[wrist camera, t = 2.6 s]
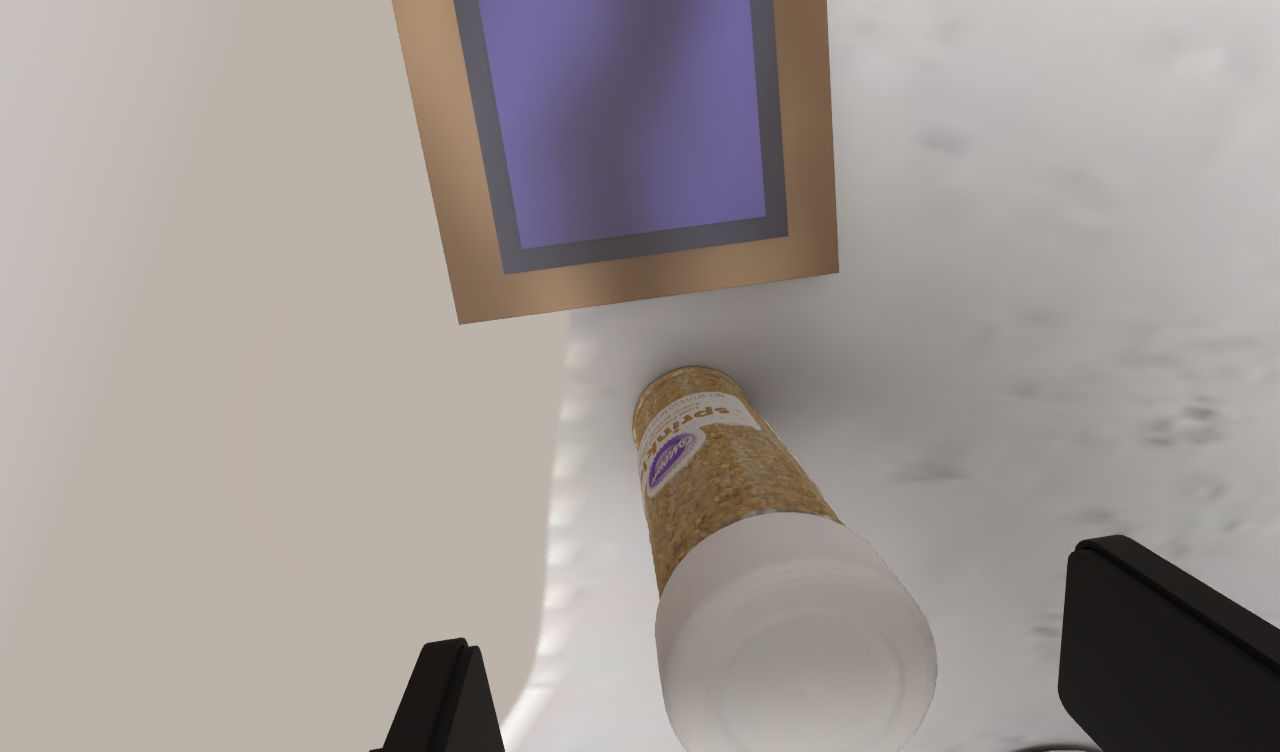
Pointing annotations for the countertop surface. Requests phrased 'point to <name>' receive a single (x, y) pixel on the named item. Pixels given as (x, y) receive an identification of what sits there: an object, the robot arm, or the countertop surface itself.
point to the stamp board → (622, 146)
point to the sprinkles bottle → (767, 589)
